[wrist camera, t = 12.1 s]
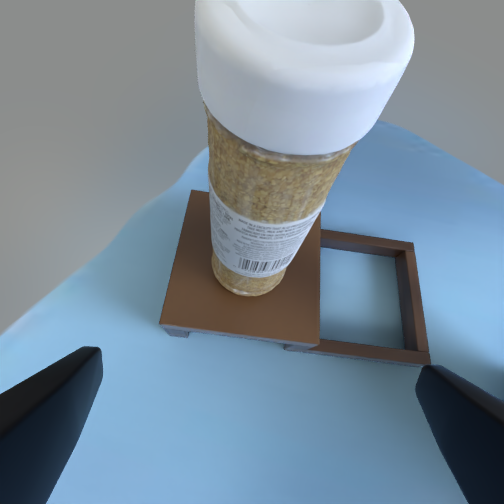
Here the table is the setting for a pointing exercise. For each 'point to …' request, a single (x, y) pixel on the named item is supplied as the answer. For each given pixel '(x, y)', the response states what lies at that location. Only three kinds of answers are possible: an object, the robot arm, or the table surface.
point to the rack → (284, 294)
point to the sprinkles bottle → (287, 117)
